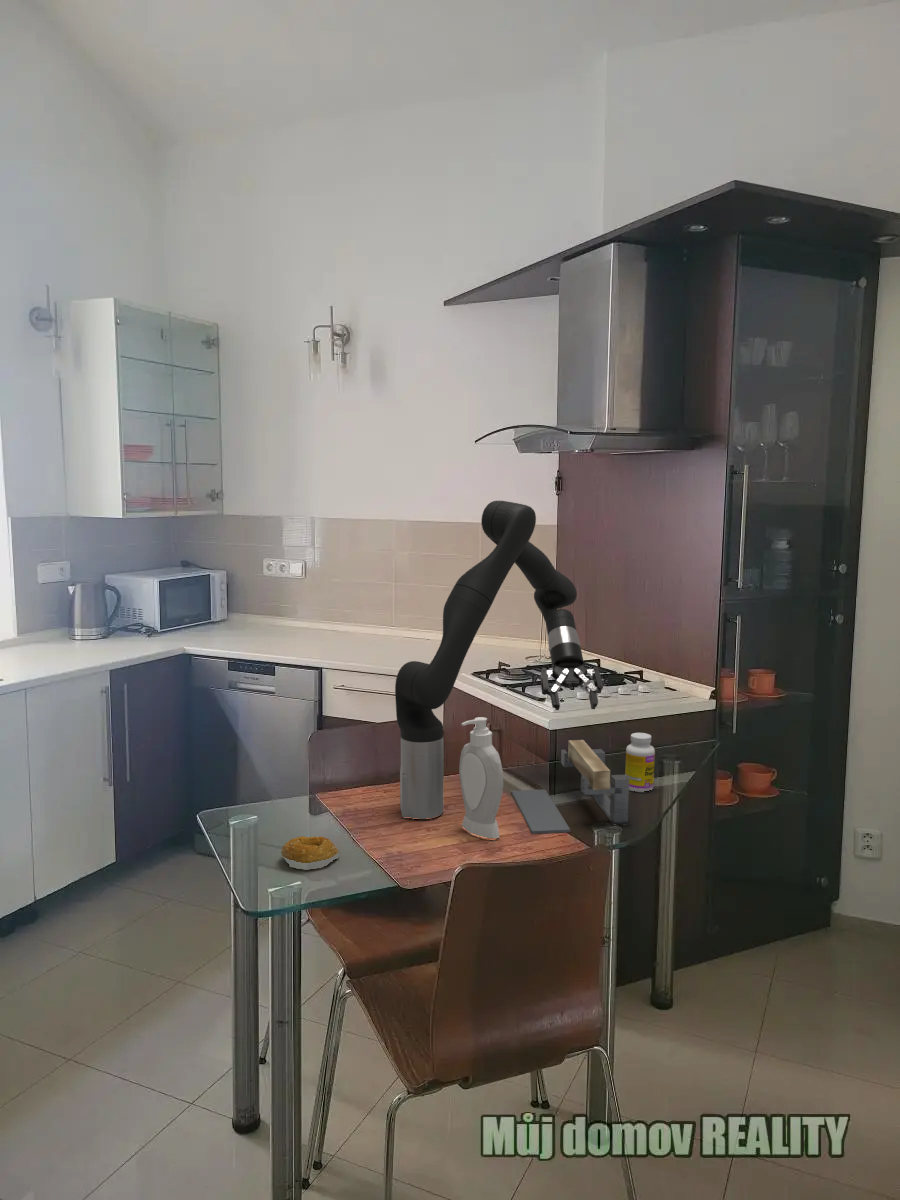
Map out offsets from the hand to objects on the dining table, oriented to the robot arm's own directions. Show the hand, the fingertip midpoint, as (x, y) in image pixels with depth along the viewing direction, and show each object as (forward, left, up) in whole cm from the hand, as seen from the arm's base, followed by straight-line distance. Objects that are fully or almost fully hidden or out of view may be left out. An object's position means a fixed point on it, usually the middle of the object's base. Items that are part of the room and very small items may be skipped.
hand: (576, 708), depth 211 cm
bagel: (-60, -32, -20) cm, 71 cm away
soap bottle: (-27, -23, -20) cm, 41 cm away
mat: (-11, -12, -20) cm, 26 cm away
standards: (+1, -11, -20) cm, 23 cm away
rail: (0, -11, -12) cm, 16 cm away
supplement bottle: (+15, 0, -20) cm, 25 cm away
